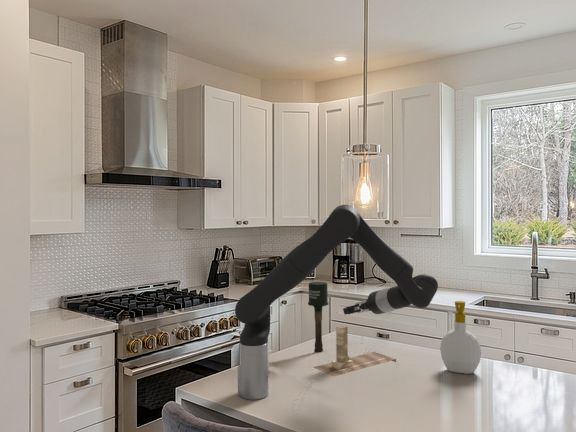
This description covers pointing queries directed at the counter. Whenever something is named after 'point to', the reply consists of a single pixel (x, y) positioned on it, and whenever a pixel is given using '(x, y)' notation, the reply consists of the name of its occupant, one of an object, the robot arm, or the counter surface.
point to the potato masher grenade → (318, 309)
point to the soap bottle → (460, 345)
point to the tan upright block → (342, 349)
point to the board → (357, 363)
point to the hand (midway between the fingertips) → (353, 309)
